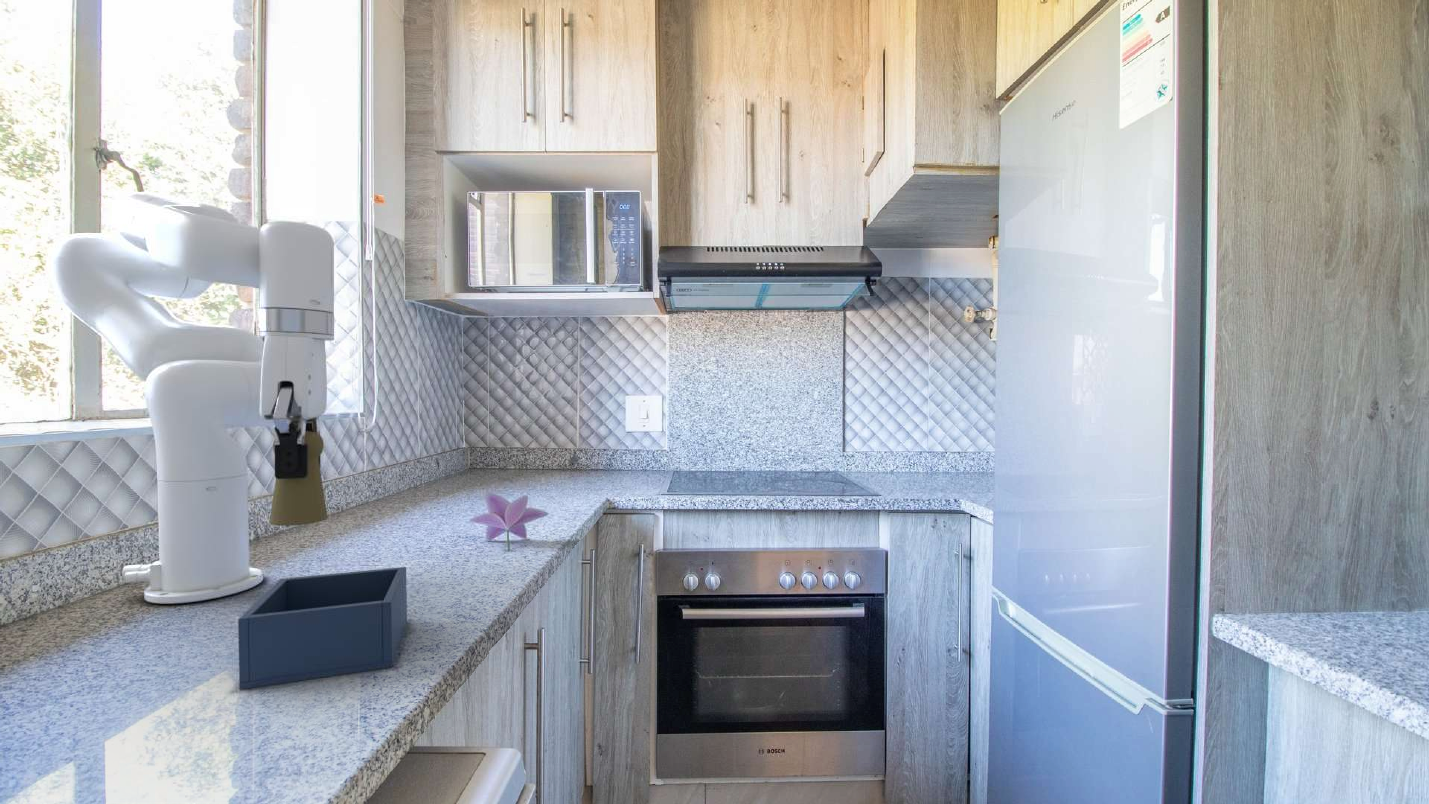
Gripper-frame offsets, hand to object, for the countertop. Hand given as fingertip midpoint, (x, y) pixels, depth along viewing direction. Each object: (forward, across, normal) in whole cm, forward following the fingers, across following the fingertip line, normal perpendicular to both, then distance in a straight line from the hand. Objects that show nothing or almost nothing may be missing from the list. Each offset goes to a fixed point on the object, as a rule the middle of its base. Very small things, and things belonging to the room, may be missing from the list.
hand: (298, 472), depth 75 cm
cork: (+6, 0, 0) cm, 6 cm away
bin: (+17, +15, +7) cm, 23 cm away
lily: (+18, -24, +26) cm, 39 cm away
